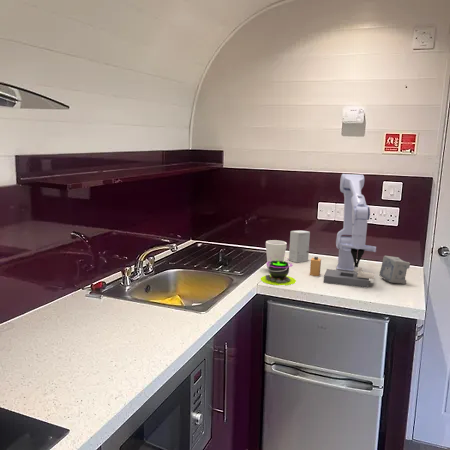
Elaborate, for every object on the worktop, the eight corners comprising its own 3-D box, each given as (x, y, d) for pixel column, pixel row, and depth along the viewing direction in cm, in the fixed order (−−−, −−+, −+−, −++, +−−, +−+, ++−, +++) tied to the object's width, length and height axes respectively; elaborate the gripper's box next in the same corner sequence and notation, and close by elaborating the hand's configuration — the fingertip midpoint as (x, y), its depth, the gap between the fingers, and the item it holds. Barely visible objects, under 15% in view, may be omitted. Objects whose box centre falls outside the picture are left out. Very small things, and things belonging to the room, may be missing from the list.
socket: (326, 275, 207) (327, 268, 207) (368, 280, 202) (369, 273, 201) (323, 282, 197) (323, 275, 196) (368, 287, 191) (368, 280, 191)
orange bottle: (311, 272, 211) (312, 255, 209) (320, 273, 210) (321, 256, 208) (309, 275, 207) (310, 257, 206) (318, 276, 206) (320, 258, 204)
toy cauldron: (253, 279, 199) (254, 253, 197) (277, 273, 209) (279, 249, 207) (278, 288, 188) (280, 261, 186) (303, 281, 198) (305, 256, 196)
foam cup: (271, 266, 219) (272, 239, 217) (288, 270, 214) (290, 242, 212) (260, 270, 212) (262, 242, 209) (278, 274, 206) (280, 245, 204)
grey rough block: (408, 284, 198) (411, 260, 196) (390, 285, 196) (393, 261, 194) (395, 277, 207) (397, 254, 206) (378, 278, 206) (380, 255, 204)
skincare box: (296, 263, 226) (298, 233, 224) (288, 260, 231) (289, 230, 229) (308, 261, 231) (310, 231, 229) (300, 258, 236) (302, 229, 233)
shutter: (357, 273, 200) (358, 266, 200) (374, 274, 198) (374, 268, 198) (357, 277, 194) (357, 270, 194) (373, 279, 192) (374, 272, 192)
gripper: (340, 235, 193) (337, 266, 196) (377, 238, 189) (374, 271, 191) (341, 231, 200) (339, 262, 202) (377, 235, 195) (374, 266, 198)
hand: (356, 266), depth 197 cm, fingers closed
